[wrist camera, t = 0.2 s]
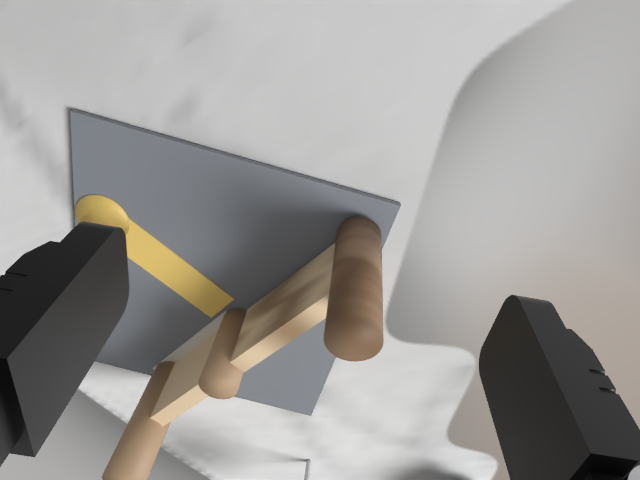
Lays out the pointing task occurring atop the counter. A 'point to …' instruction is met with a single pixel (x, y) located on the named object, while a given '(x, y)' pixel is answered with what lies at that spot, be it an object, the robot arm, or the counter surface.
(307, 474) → the lollipop
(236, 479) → the counter surface
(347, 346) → the plank with upright peg
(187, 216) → the board
